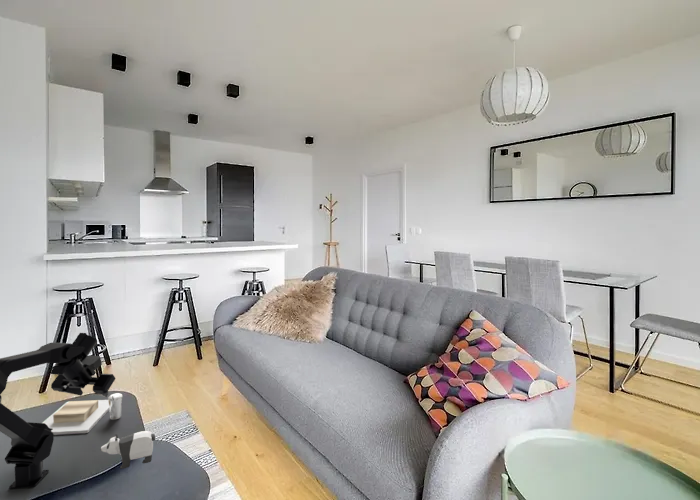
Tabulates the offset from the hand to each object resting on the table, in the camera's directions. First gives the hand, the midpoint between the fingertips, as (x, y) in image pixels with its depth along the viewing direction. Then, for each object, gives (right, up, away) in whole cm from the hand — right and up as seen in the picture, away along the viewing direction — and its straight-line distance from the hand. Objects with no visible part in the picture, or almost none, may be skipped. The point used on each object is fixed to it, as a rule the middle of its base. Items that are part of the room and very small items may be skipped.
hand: (94, 395), depth 129 cm
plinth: (-12, -12, +8) cm, 19 cm away
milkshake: (+2, -12, +9) cm, 15 cm away
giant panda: (+22, -15, -15) cm, 31 cm away
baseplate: (-12, -12, +8) cm, 19 cm away
